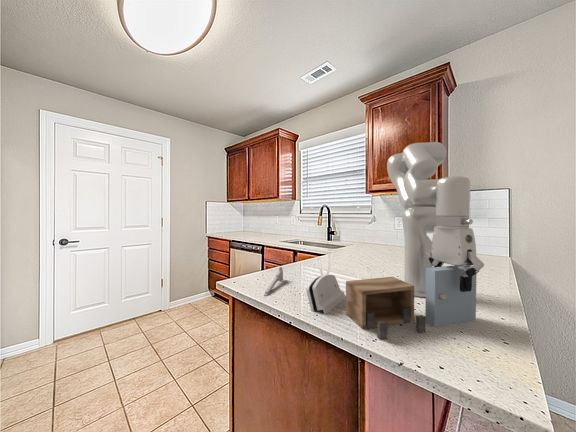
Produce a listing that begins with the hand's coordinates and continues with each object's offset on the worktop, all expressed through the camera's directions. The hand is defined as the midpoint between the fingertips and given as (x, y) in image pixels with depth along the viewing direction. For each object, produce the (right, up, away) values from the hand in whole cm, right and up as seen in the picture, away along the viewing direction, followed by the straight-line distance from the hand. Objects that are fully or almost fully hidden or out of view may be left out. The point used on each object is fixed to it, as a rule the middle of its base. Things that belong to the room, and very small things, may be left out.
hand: (451, 285), depth 66 cm
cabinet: (-18, -10, 0) cm, 21 cm away
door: (0, -10, 0) cm, 10 cm away
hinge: (-32, -10, +14) cm, 37 cm away
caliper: (-51, -10, +30) cm, 60 cm away
